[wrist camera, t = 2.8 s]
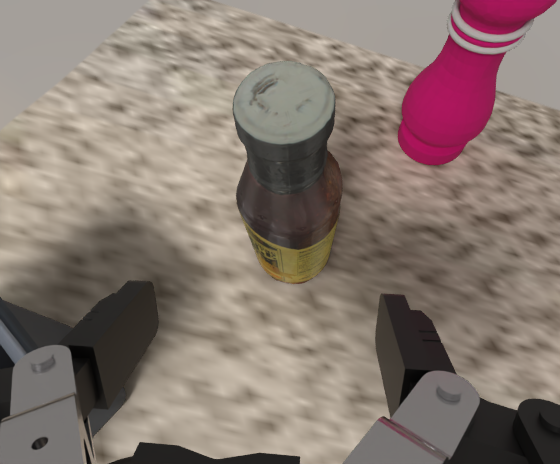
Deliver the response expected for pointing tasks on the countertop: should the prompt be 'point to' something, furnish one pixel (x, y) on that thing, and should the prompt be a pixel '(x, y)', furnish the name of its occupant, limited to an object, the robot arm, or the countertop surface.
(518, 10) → the pepper mill
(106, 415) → the storage bin
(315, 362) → the countertop surface
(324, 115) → the sauce bottle
